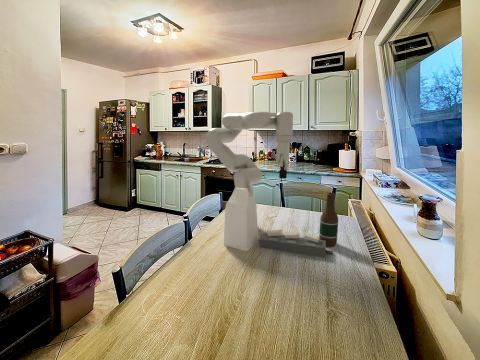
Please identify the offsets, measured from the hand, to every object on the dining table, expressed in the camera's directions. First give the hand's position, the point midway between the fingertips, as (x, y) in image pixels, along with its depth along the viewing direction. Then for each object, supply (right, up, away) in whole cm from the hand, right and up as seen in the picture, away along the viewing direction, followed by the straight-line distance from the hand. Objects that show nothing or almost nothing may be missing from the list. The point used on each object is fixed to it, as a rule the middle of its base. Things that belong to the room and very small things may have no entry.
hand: (282, 178), depth 120 cm
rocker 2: (+10, -26, -11) cm, 30 cm away
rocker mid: (+3, -26, -9) cm, 27 cm away
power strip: (+4, -31, -10) cm, 33 cm away
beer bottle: (+20, -31, -5) cm, 37 cm away
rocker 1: (-5, -25, -6) cm, 27 cm away
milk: (-20, -31, -4) cm, 37 cm away
